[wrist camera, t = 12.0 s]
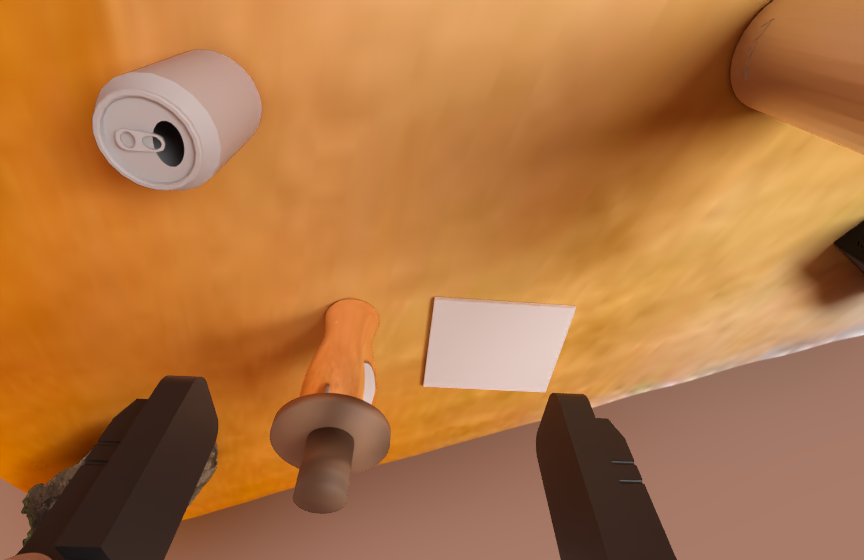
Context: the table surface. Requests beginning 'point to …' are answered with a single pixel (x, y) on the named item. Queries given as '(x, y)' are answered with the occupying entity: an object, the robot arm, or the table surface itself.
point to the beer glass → (345, 353)
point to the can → (176, 119)
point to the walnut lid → (328, 445)
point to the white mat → (494, 344)
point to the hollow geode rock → (47, 495)
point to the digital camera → (853, 245)
